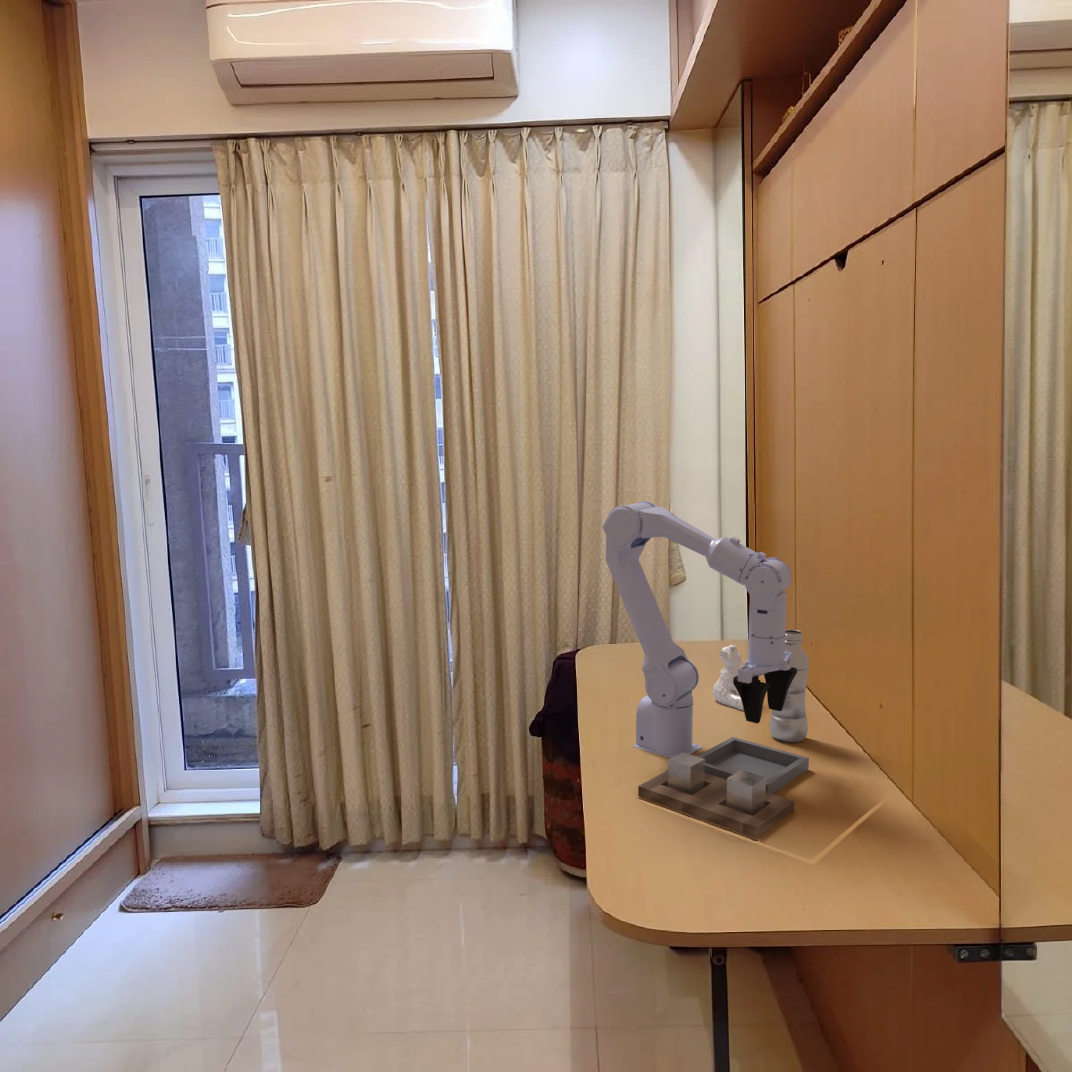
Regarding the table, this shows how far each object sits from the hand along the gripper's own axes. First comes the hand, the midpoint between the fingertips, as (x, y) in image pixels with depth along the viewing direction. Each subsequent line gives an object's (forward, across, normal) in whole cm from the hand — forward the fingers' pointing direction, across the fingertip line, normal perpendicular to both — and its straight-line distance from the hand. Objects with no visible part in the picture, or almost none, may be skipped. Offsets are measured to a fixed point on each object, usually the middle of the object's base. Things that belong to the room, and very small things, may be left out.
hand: (764, 715), depth 138 cm
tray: (+9, -3, +1) cm, 10 cm away
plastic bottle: (+10, +15, +3) cm, 18 cm away
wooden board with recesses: (+9, -17, -1) cm, 19 cm away
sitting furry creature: (+10, +27, +21) cm, 36 cm away
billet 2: (+10, -17, -6) cm, 20 cm away
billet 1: (+10, -17, +4) cm, 20 cm away
